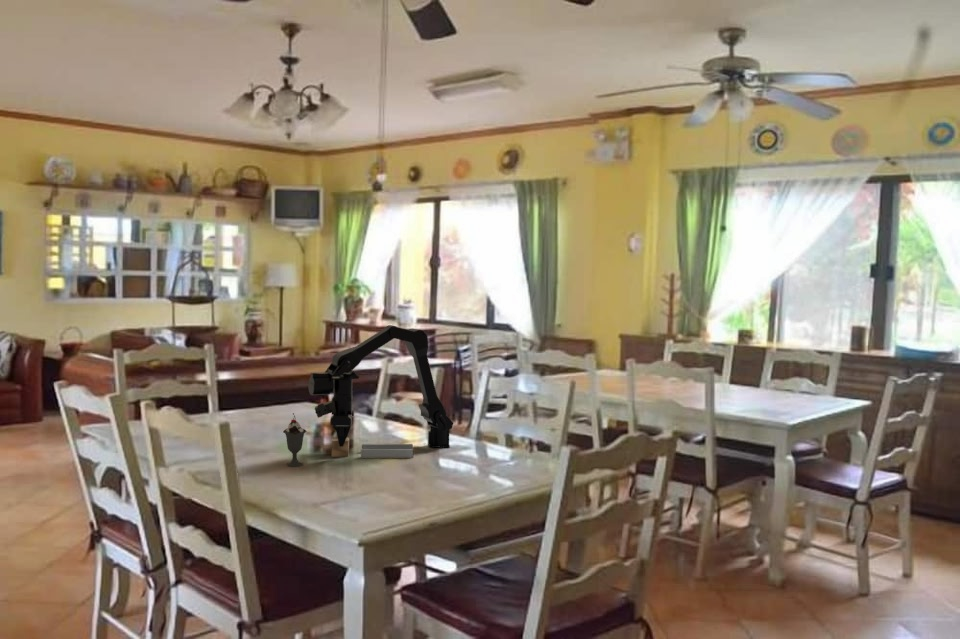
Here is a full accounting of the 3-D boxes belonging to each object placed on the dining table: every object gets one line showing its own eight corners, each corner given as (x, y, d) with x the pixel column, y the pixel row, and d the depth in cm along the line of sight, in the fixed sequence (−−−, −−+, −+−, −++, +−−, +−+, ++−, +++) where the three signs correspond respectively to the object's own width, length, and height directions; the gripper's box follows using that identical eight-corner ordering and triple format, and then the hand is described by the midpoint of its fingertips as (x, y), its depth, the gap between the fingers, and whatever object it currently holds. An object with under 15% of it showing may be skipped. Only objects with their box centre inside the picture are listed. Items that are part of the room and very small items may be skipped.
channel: (412, 451, 270) (412, 444, 270) (413, 457, 262) (413, 449, 261) (361, 451, 268) (362, 443, 268) (360, 457, 260) (360, 449, 260)
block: (348, 453, 266) (349, 437, 266) (348, 456, 261) (348, 440, 261) (332, 453, 266) (333, 437, 265) (331, 456, 261) (331, 440, 260)
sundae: (293, 460, 254) (294, 411, 253) (310, 464, 250) (311, 413, 249) (278, 465, 248) (278, 414, 247) (295, 468, 245) (295, 417, 244)
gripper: (319, 388, 271) (318, 437, 272) (313, 398, 252) (313, 449, 253) (354, 389, 272) (353, 437, 273) (351, 398, 253) (350, 449, 254)
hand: (342, 443), depth 263 cm, fingers open, 9 cm apart
